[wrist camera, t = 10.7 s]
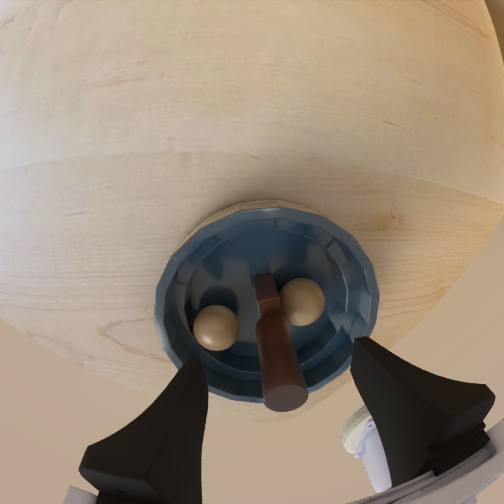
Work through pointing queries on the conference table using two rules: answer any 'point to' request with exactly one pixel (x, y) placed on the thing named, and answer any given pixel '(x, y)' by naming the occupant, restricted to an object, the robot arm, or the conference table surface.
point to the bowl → (244, 295)
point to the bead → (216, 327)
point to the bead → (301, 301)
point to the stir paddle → (277, 351)
